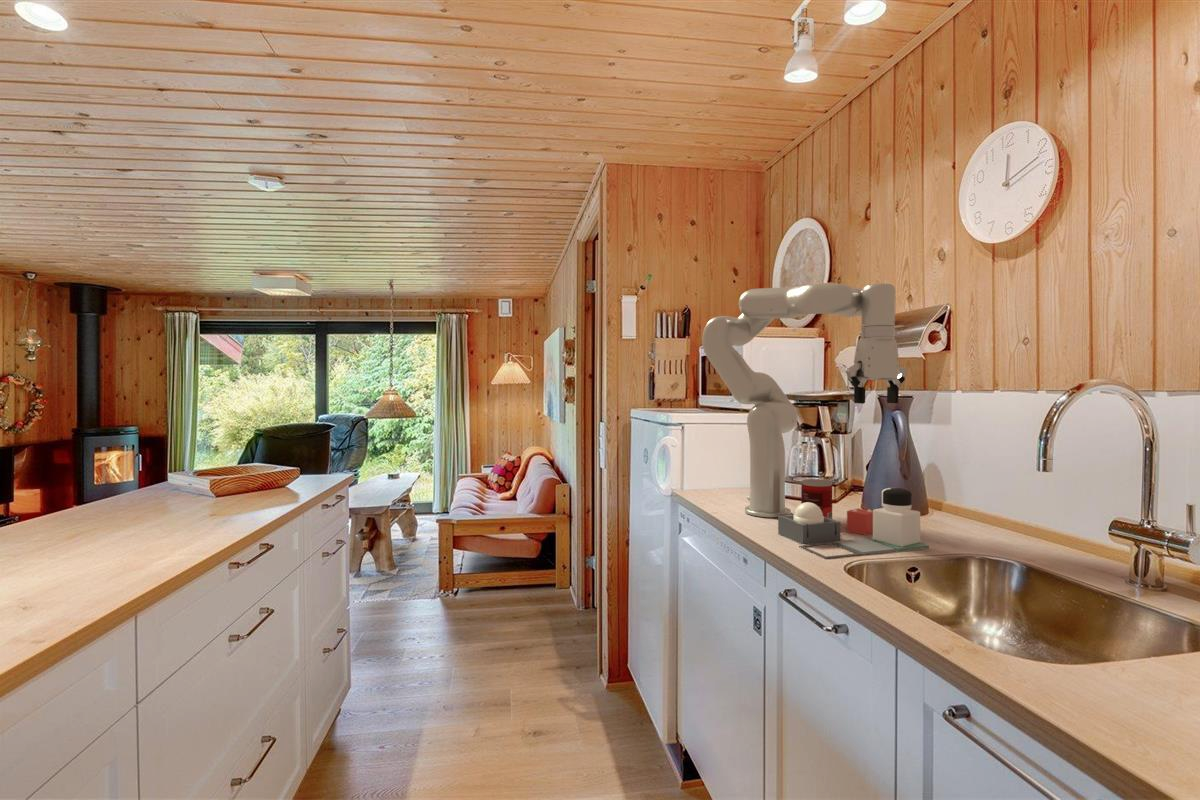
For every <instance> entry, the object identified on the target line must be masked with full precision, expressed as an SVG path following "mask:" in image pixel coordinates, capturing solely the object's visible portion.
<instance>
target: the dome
mask: <svg viewBox="0 0 1200 800" xmlns="http://www.w3.org/2000/svg"><path fill="white" fill-rule="evenodd" d="M793 515H794V520H795V521H798V522H801V523H803V524H808V523H821V522H824V516H823V514H822V511H821V509H820V508H819V507H818V506H817V505H816V504H814V503H810V502H805V503H802V504H801V503H799V505H797V507H796V509H795V511H794V514H793Z"/></svg>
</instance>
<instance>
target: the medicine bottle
mask: <svg viewBox="0 0 1200 800" xmlns="http://www.w3.org/2000/svg"><path fill="white" fill-rule="evenodd" d="M912 503H913V502H912V492H911V491H910V490H908V489H906V488H900V487H887V488H883V489H882V490H881V507H880V508H875V509H873V510H872V511H873V533H872V538H873V540H875V541H879V542H884V543H888V544H892V545H896V546H900V547H904V546H908V545H912V544H916V543H919V542H920V543H921V512H920V511H919V510H913V509H912Z"/></svg>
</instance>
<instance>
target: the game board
mask: <svg viewBox="0 0 1200 800" xmlns="http://www.w3.org/2000/svg"><path fill="white" fill-rule="evenodd" d="M835 545H836V547H839V548H841V549H842V550H843V549H844V550H845V551H849V552H851V553H847V554H837V555H828V556H827V555H824V554H822V553H819V552H817V551H815V550H812V549H810V548H812V546H815V547H823V546H835ZM798 547H799V548H800V547H801V548H800V549H802V548H803V549H802V550H804V549H805V551H807V552H809V553H811V554H813V553H814V554H813V555H815V554H816V556H818V557H820V558H822V559H825V560H827V559H837V558H838V559H839V558H847V557H849V556H850V557H856V556H866V555H867V554H868V555H874V553H877V554H885V553H896V552H906V551H914V550H925V549H926V550H927V549H930V545H928V544H926V543H922V542H921V541H920V542H919V543H916V544H912V545H908V546H904V547H900V546H896V545H892V544H888V543H884V542H879V541H875V540H873V537H869V538H857V539H855V538H854V539H845V540H840V541H835V542H828V543H817V544H806V545H799V546H798Z"/></svg>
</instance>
